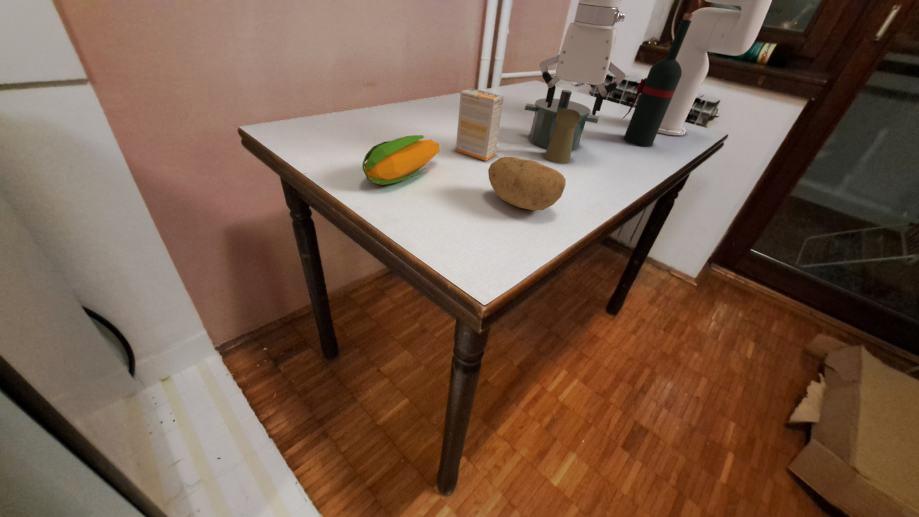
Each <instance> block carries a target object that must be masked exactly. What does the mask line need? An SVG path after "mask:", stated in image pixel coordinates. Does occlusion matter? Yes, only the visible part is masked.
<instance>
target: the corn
mask: <svg viewBox="0 0 919 517" xmlns="http://www.w3.org/2000/svg"><path fill="white" fill-rule="evenodd" d="M424 138H425V136H424V135H423V134H418V135H417V134H416V135H415V134H414V135H405V136H401V137H399V138H395V139H392V140H388V141H383V142H381V143H378V144H375V145H373V146H372V147H371V148H370V149H369V150H368V151H367V153H366V154H365V156H364V158H363V161H362V165H361V167H362V170H363V173H364V175H365V178H366V179H367V181H370V182H372V183H373V184H376V185H380V186H384V185H392V184H396V183H401V182H404V181H405V180H408V179H410V178H413V177H414V176H416V175H418V174H419V173H421V172H423V171H424V170H426V169H427V167H424V166H426V165H427V164H428V163H429V162H430V161H431V160H432V159H433V158H434V157H435V156H436V155H437V154H438V153H439V152H440V150H441V148H440V143H438V142H437V141H435V140H433V139H424ZM423 167H424V168H423ZM421 168H423V169H421Z"/></svg>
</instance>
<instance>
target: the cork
mask: <svg viewBox="0 0 919 517" xmlns="http://www.w3.org/2000/svg"><path fill="white" fill-rule="evenodd" d="M579 121H580V114H579V113H578V112H577V111H575V110H572V109H561V110H560V111H559V112H558V113H557V115H556V122H557V125H556V128H555V130H554V133H553V135H552V138H551V140H550V143H549V145H548V148H547V149H546V150H545V153H544V158H545V160H548V161H550V162H552V163H556V164H568V163H569V162H570V161H571V154H572V151H573V150H572V144H573V137H574V131H575V127H576V126H577V125H578V123H579ZM571 150H572V151H571Z"/></svg>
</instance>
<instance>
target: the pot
mask: <svg viewBox="0 0 919 517" xmlns="http://www.w3.org/2000/svg"><path fill="white" fill-rule="evenodd" d="M524 111H529V112H534V114H533V119H532V124H531V129H530V133H529V140H530V141H531V143H532V144H534V145H535V146H538V147H541V148H543V149H546V150H547V148H548V145H549V143H550V140H551V138H552V135H553V133H554V130H555V128H556V125H557V122H556V114H552V113H549V112H546V111H543V110H541V109H539V108H538V107H536V105H535V104H531V103H526V104H525V105H524ZM598 121H599V116H596V115H595V116H593V115H592V114H589V115H588V116H584V117H580V121H579V123H578V125H577V126H576V127H575V131H574V137H573V144H572V150H571V152H573V151H575V150H577V149H578V148H579V145H580V143H581V142H580V141H581V140H582V136H583V131H584V128H585V125H586V122H588V123H593V124H598Z"/></svg>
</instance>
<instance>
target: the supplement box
mask: <svg viewBox="0 0 919 517" xmlns="http://www.w3.org/2000/svg"><path fill="white" fill-rule="evenodd" d="M459 96H460V97H459V108H458V120H457V132H456V146H455V152H457V153H461V154H464V155H466V156H470V157H473V158H476V159H479V160H482V161H485V162H486V161H487V160H488V161H489V160H490V159H491V158H493V157H495V156H496V151H497V146H498V139H499V138H498V137H499V131H500V124H501V119H502V118H501V117H502V111H503V105H504V97H505V96H504V95H502V94H497V93H493V92H489V91H484V90H481V89H476V88H473V87H471V88H468V89H464V90H461V91H460V95H459Z"/></svg>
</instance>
